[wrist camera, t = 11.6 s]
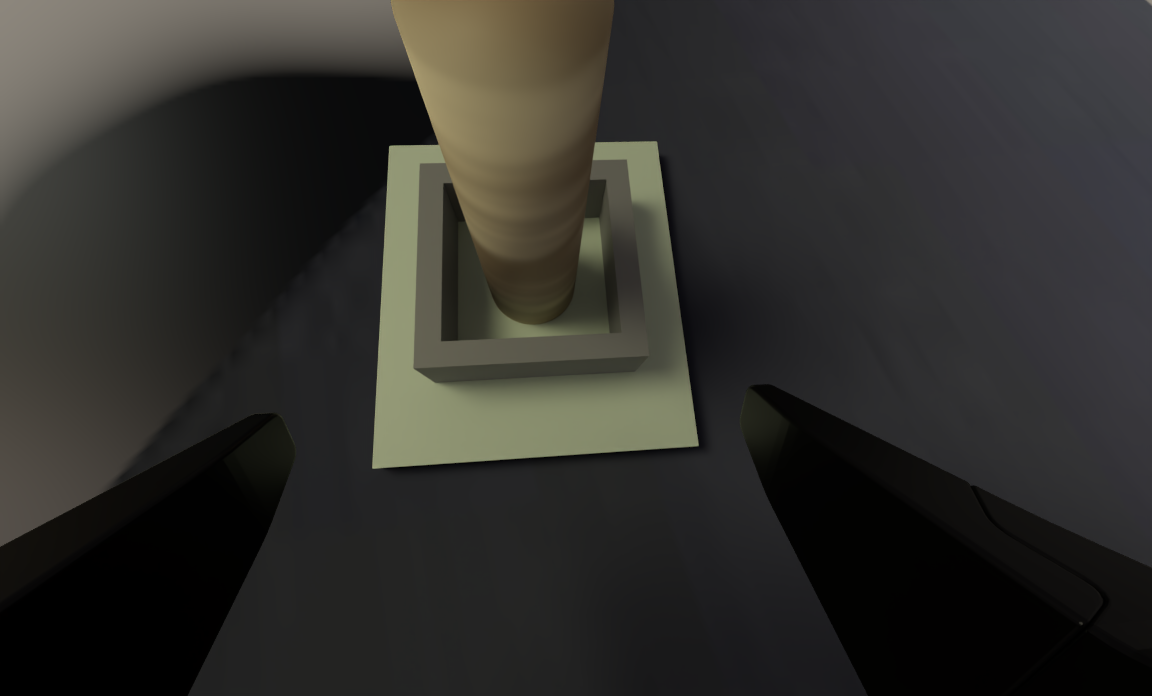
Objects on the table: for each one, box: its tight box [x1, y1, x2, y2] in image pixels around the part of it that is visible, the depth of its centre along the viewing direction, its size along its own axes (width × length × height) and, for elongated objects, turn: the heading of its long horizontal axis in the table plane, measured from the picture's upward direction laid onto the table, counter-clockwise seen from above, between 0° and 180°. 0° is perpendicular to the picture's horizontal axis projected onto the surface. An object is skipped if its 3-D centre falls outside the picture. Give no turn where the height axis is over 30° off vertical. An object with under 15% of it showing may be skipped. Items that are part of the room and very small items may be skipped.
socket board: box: [372, 142, 699, 469], centre depth 19 cm, size 16×14×4 cm
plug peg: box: [391, 0, 614, 325], centre depth 14 cm, size 4×4×13 cm
